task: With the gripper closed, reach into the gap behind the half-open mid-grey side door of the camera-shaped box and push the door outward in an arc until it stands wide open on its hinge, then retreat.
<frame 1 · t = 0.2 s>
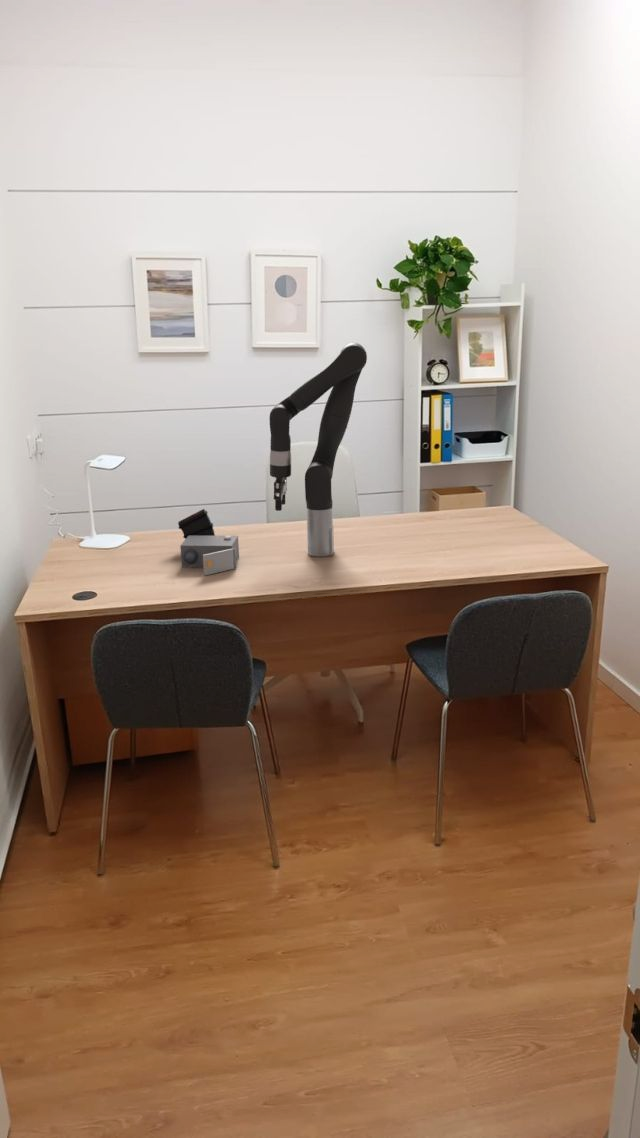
hand: (280, 507, 305), 17 cm above the table, tool pointing down, fingers open, 8 cm apart
camera box: (211, 562, 303), on the table
side door: (220, 561, 291), point 4 cm above the table, hinge at 40.0°
black piece: (198, 549, 318), on the table
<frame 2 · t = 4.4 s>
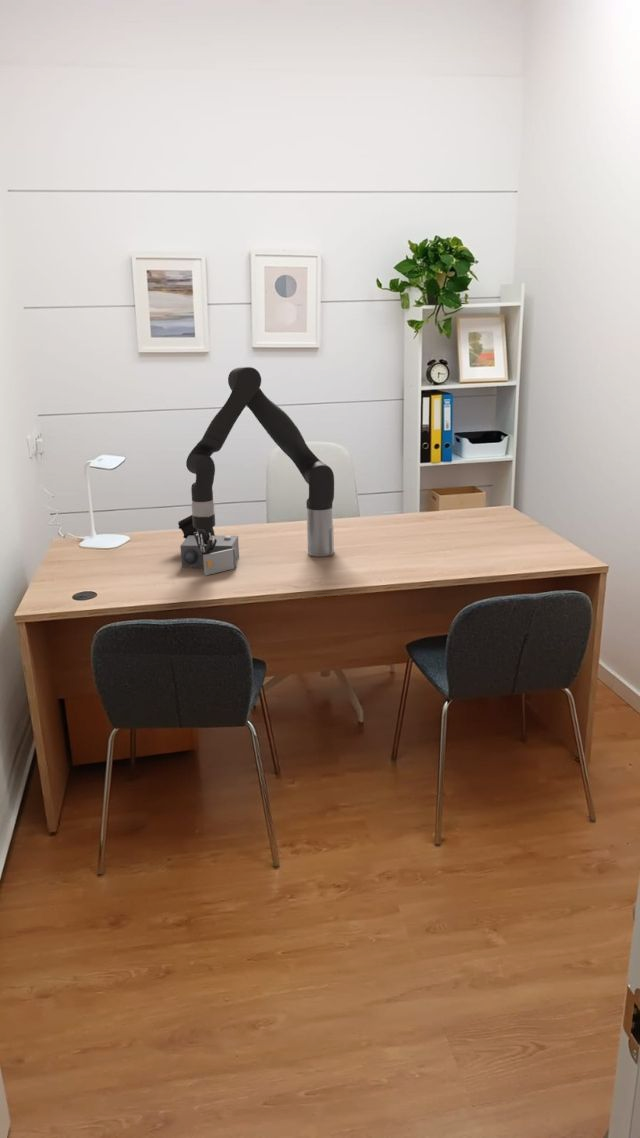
hand: (206, 561, 292), 4 cm above the table, tool pointing down, fingers closed
side door: (220, 561, 291), point 4 cm above the table, hinge at 41.0°, touching gripper
everything else where it was.
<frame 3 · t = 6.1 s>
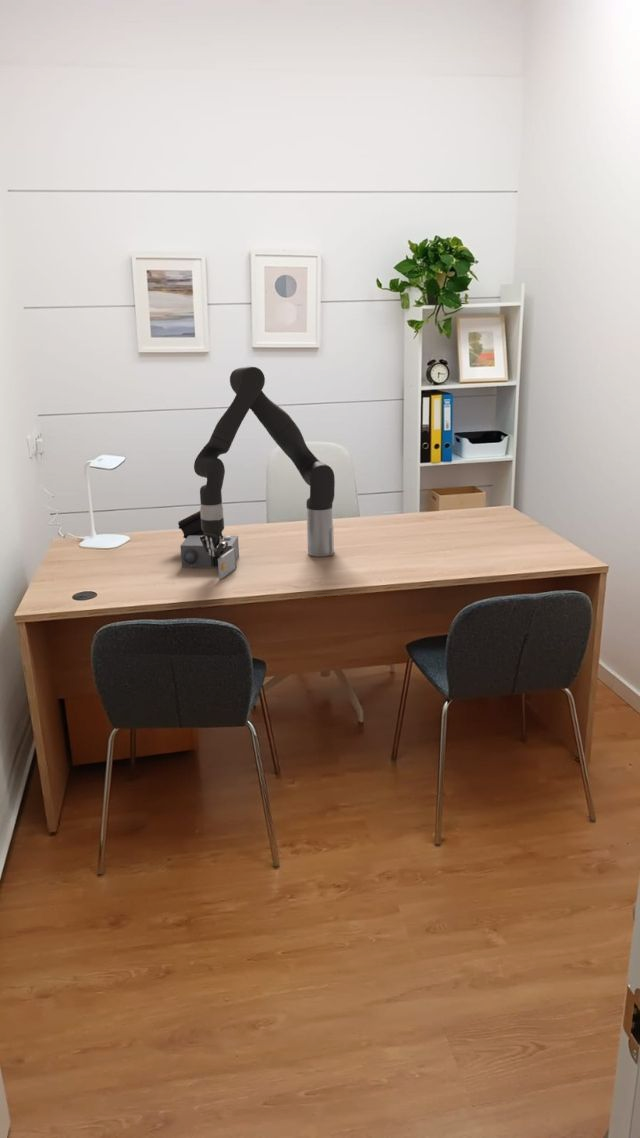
hand: (215, 565, 288), 4 cm above the table, tool pointing down, fingers closed
side door: (228, 563, 289), point 4 cm above the table, hinge at 76.6°, touching gripper
everything else where it was.
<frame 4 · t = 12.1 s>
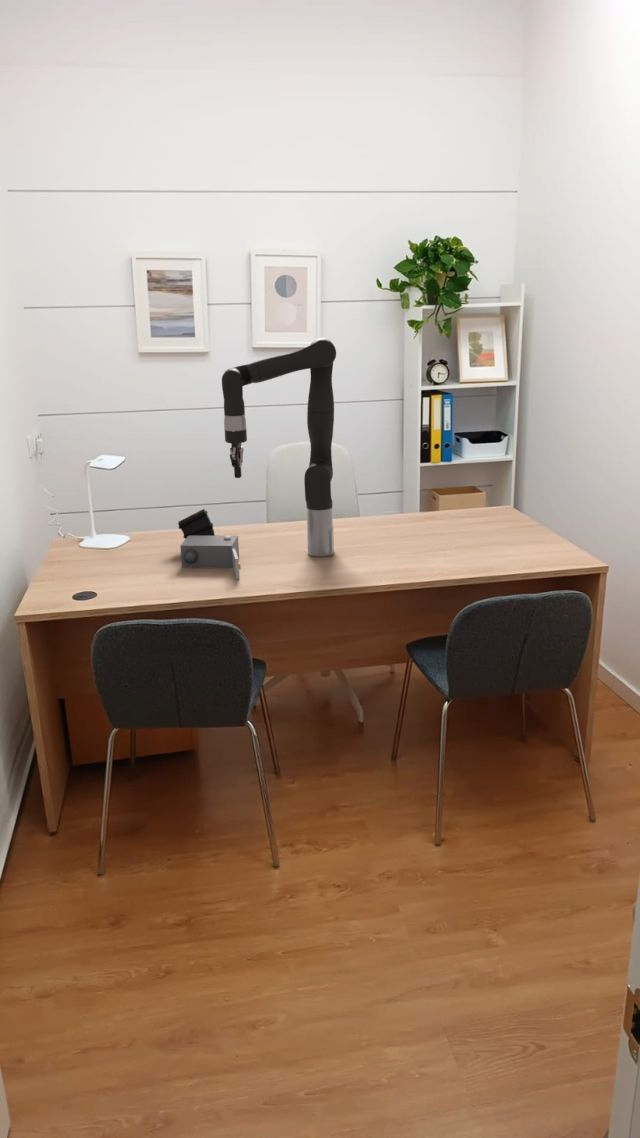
hand: (238, 477, 299), 29 cm above the table, tool pointing down, fingers closed
side door: (236, 563, 289), point 4 cm above the table, hinge at 106.4°
everything else where it was.
at the end: side door at +106° (first picture: +40°) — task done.
